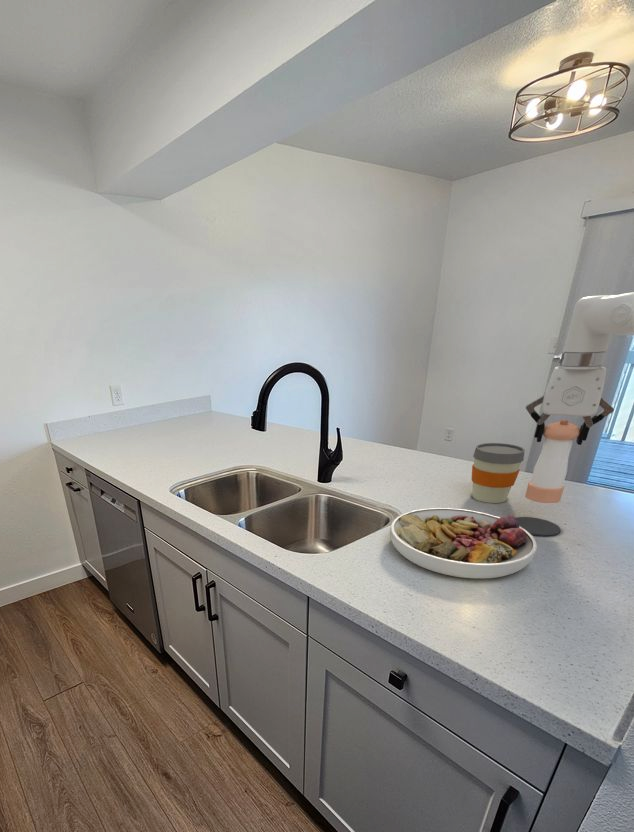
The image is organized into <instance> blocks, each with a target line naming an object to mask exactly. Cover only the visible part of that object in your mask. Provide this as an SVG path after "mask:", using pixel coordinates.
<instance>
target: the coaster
mask: <svg viewBox="0 0 634 832" xmlns="http://www.w3.org/2000/svg"><path fill="white" fill-rule="evenodd" d="M516 519H517V520H518V522H519V526H520V527H522V528H523V529H525V530H526V531H528V532H529V533H530V534H531V535H532V536H533V537H534V536H535V537H553V536H557V535H559V534H560V533H561V527H560V526H559V525H558V524H556V523H554V522H552V521H549V520H546V519H543V518H539V517H530V516H517V517H516Z"/></svg>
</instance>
